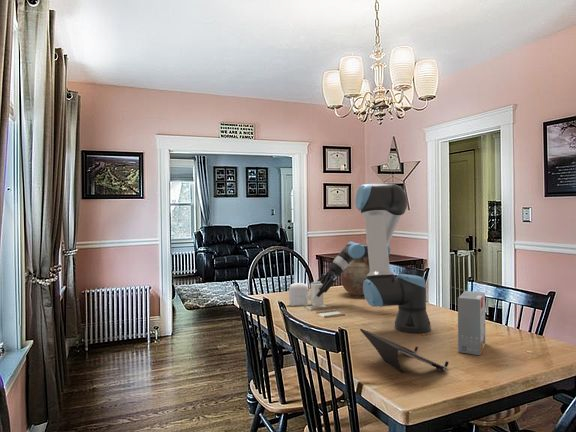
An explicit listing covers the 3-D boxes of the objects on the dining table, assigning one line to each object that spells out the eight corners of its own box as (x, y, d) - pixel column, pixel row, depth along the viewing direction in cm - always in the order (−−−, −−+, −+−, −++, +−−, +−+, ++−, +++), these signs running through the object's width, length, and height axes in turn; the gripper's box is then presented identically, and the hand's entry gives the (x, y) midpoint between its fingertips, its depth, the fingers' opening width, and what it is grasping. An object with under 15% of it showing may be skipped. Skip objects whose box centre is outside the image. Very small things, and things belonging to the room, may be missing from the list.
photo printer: (307, 303, 229) (306, 281, 229) (308, 305, 225) (308, 283, 224) (289, 304, 227) (288, 282, 227) (290, 306, 223) (289, 284, 223)
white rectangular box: (323, 305, 213) (323, 282, 213) (314, 306, 211) (314, 283, 211) (319, 303, 218) (319, 280, 218) (311, 304, 216) (310, 281, 216)
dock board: (346, 317, 197) (346, 313, 197) (323, 320, 193) (323, 316, 193) (323, 306, 221) (323, 302, 221) (303, 308, 217) (303, 304, 217)
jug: (351, 290, 263) (350, 244, 263) (382, 293, 251) (381, 245, 250) (335, 296, 246) (334, 247, 245) (368, 300, 233) (366, 248, 233)
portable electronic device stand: (446, 393, 128) (456, 365, 129) (389, 371, 121) (401, 342, 122) (402, 367, 149) (411, 344, 151) (352, 347, 142) (362, 322, 144)
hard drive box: (481, 356, 142) (480, 299, 142) (457, 352, 146) (456, 297, 146) (486, 343, 155) (485, 291, 155) (464, 340, 160) (463, 290, 159)
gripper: (350, 273, 211) (322, 308, 206) (334, 268, 228) (308, 300, 223) (341, 263, 209) (312, 298, 204) (326, 259, 226) (299, 292, 221)
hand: (310, 299), depth 213 cm, fingers closed on white rectangular box, 5 cm apart
